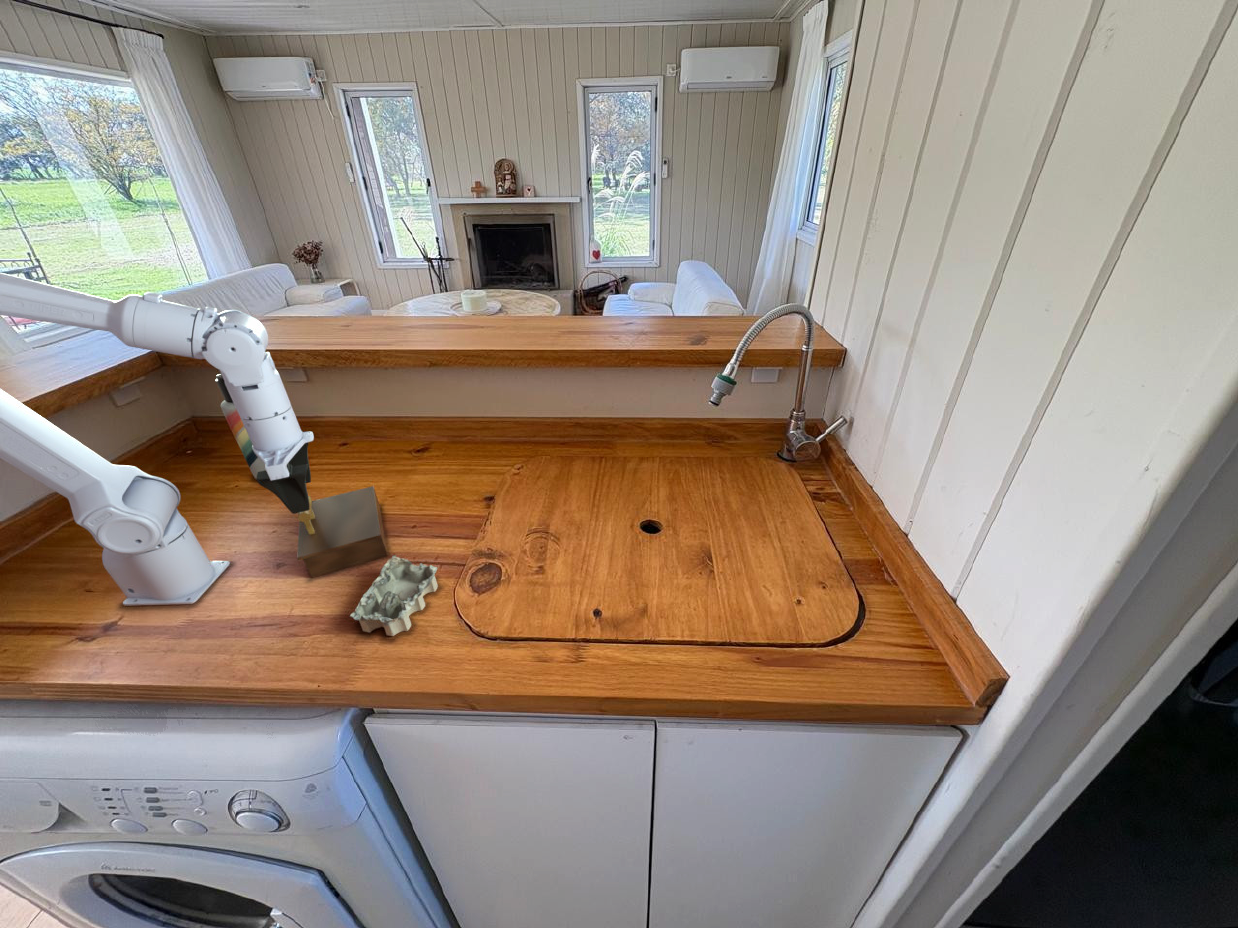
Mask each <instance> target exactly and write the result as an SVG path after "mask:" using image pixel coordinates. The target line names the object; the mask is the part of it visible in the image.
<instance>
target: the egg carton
mask: <svg viewBox="0 0 1238 928" xmlns="http://www.w3.org/2000/svg"><path fill="white" fill-rule="evenodd" d="M438 569H439V567H437V566H434V565H431V564H430V565H426V564H423V563H422V562H421V563H419V565H415V564H413V563H412V562H411V561H410V560H409V559H407V558H404V557H403V558H401V557H398V556H397V555H396V554H393V555H392V556H391V558H388V559H387V561H386V563H385V564H383V566H382V568H381V569H380V572H379V576H377V578H376V579H374V581H372V585H371V586H370V587H369V589H367V591H366V592H365V593H364V594H363V595H362V596H361V599H360V600H359V602H358V605H357V606H356V607H355V610H354V611H353V612H352V613H351V614H350V615H349V618H350V617H351V618H353V619H354V620H355V621H359V624H360V627H361V629H362V632H365V633H371V632H372V631H375V630H376V629H380V628H384V631H385V634H386V636H390V637H394V636H396V635H397V634H399V633H402V632H408V631H409V630H410V629H411V627H412V622H411V619H410V616H411V615H412V614H414V613H415V612H420V611H423V610H424V609H425V607H426V601H425V598H424V596H425V595H426V594H429V593H435V592H436V591H437V589H438V587H439V585H438V582H437V579H436V575H435V574H437V571H438Z"/></svg>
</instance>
